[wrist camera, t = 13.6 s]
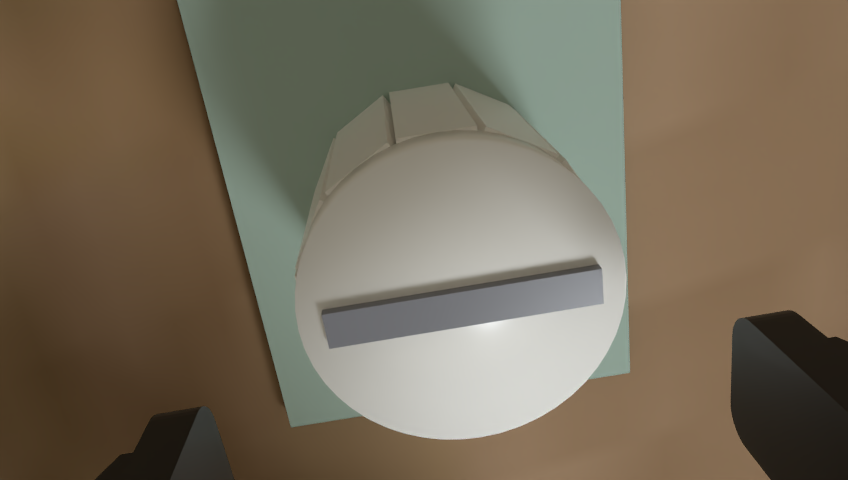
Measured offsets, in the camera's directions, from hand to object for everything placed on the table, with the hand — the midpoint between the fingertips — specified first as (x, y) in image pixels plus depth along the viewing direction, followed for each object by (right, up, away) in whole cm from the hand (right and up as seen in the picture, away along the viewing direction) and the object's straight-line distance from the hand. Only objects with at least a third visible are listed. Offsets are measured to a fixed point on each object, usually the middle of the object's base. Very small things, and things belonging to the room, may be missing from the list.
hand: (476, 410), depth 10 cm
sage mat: (-1, +4, +8) cm, 8 cm away
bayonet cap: (0, +4, +7) cm, 8 cm away
